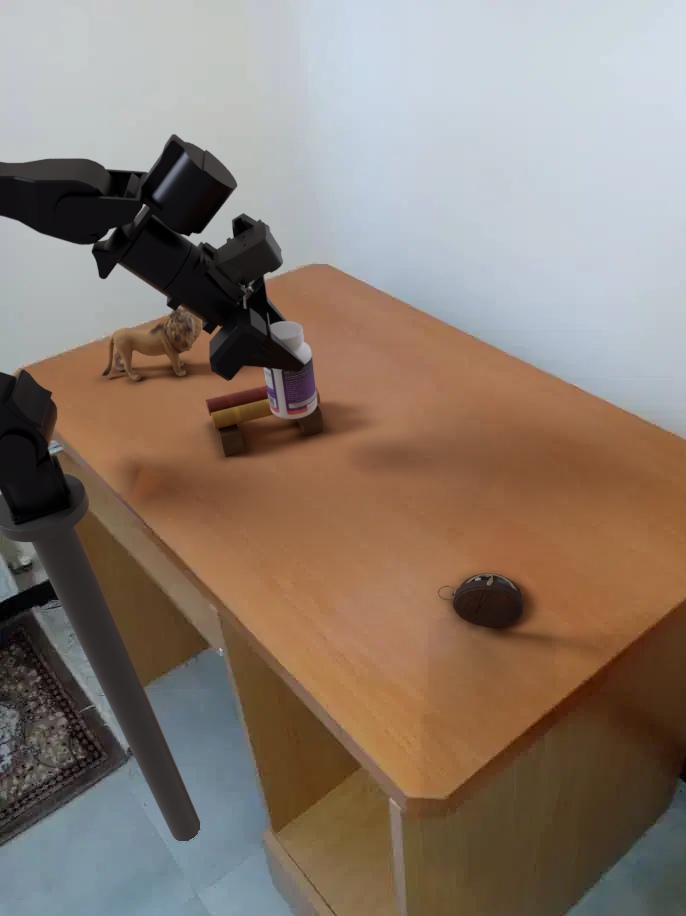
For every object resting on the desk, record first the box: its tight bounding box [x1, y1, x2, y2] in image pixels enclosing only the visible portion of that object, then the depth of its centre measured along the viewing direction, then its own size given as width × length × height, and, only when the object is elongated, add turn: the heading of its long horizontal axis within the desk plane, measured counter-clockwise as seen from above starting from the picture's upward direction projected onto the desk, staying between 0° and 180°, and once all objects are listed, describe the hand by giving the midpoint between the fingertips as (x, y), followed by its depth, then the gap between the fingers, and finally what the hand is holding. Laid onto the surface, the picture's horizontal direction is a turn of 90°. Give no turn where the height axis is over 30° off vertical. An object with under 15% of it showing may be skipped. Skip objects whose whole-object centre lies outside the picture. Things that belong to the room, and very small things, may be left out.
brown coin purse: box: [437, 572, 524, 628], centre depth 73 cm, size 8×8×7 cm
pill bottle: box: [262, 320, 318, 420], centre depth 86 cm, size 5×5×10 cm
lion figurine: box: [101, 306, 202, 382], centre depth 107 cm, size 15×5×9 cm, turn 103°
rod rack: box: [205, 385, 325, 458], centre depth 97 cm, size 13×7×5 cm, turn 111°
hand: (299, 354), depth 85 cm, fingers closed on pill bottle, 5 cm apart
